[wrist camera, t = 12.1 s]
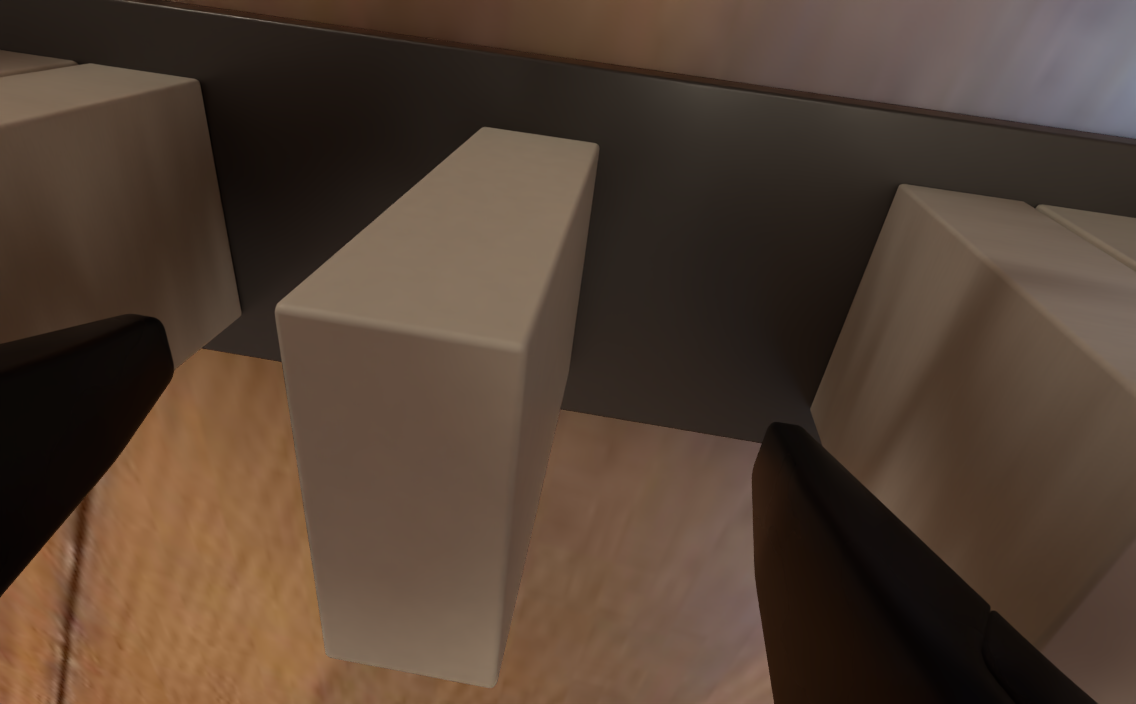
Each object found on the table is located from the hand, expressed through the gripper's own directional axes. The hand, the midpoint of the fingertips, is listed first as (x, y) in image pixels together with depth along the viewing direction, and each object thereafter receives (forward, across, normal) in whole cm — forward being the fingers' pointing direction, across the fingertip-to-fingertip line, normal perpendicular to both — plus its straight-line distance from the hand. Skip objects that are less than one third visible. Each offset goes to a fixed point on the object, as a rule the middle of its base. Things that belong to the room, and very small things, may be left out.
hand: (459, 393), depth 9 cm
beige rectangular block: (+5, 0, 0) cm, 5 cm away
